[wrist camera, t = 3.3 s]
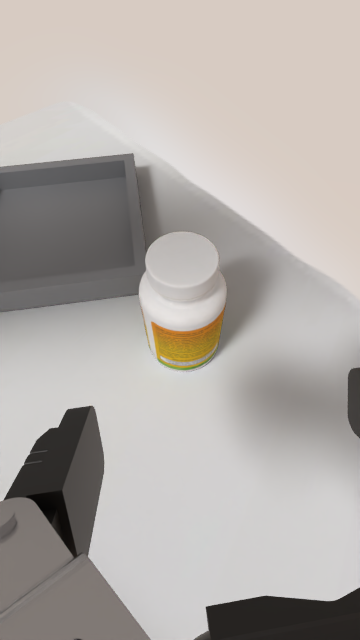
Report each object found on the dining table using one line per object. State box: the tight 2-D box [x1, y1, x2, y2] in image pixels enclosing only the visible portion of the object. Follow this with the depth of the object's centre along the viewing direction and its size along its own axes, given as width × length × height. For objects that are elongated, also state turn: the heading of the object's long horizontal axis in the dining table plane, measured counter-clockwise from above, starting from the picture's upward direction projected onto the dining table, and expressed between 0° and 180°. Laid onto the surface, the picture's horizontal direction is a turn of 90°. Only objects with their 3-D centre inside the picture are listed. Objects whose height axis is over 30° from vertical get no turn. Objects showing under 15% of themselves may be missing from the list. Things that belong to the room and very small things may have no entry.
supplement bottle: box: [139, 231, 227, 372], centre depth 22 cm, size 5×5×10 cm
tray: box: [0, 153, 146, 312], centre depth 31 cm, size 16×16×2 cm
